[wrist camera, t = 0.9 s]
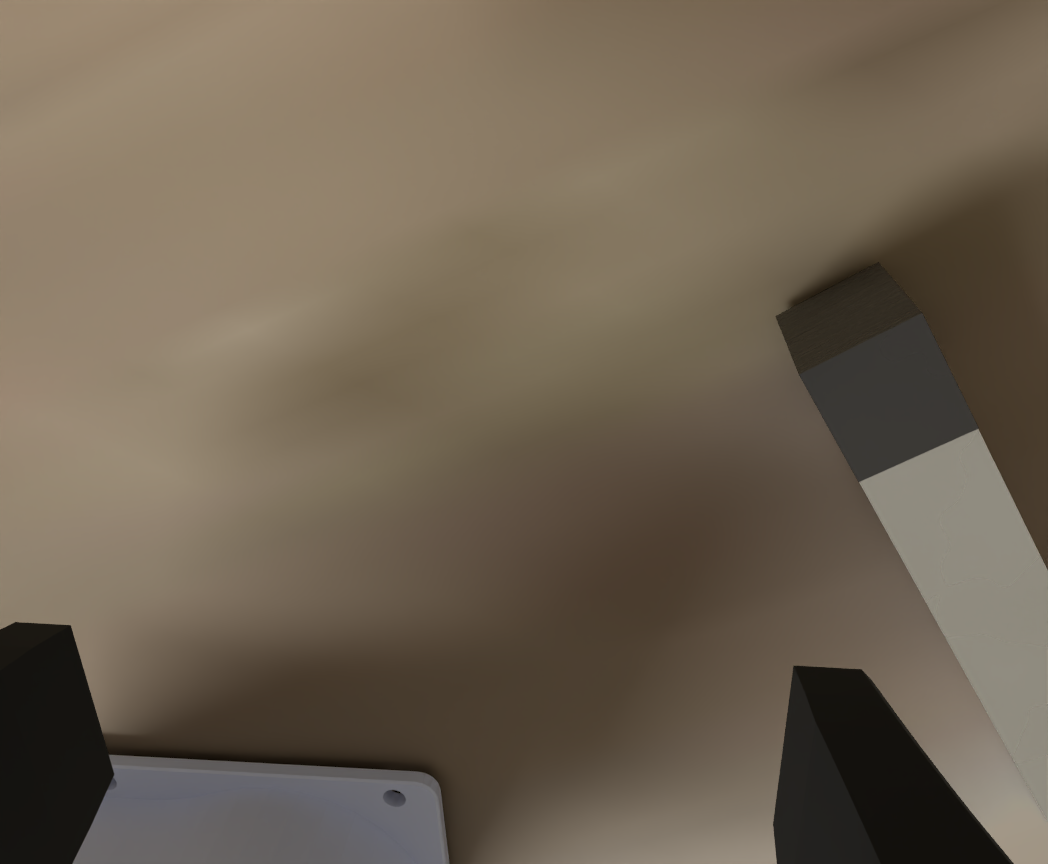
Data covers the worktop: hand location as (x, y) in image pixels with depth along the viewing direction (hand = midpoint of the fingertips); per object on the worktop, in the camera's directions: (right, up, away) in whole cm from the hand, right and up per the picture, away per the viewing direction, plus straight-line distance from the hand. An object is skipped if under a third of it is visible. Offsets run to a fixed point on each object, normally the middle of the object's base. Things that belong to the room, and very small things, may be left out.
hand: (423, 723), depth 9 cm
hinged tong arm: (+12, -3, +9) cm, 15 cm away
